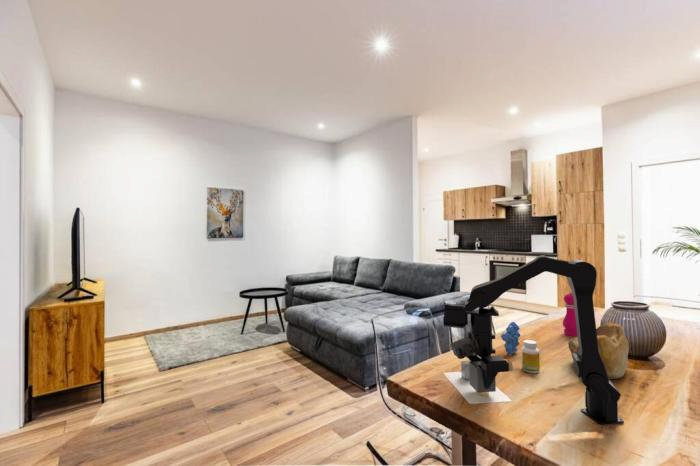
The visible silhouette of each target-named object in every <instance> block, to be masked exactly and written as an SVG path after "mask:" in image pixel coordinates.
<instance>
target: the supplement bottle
mask: <svg viewBox="0 0 700 466" xmlns="http://www.w3.org/2000/svg"><path fill="white" fill-rule="evenodd" d="M537 347H538V343H537V341H535V340H531V339H525V340H523V346H522V347H521V353H520V354H521V370H523V371H524V372H526V373H530V374H537V373H539V372H540V370H541V369H540V368H541V367H540V350H539V348H537Z"/></svg>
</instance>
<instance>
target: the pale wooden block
mask: <svg viewBox="0 0 700 466" xmlns="http://www.w3.org/2000/svg"><path fill="white" fill-rule="evenodd" d="M476 392H477V391H476ZM477 393H478V392H477ZM478 394H479V395H480V396H488V395H489V392H479V393H478Z"/></svg>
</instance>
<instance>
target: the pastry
mask: <svg viewBox="0 0 700 466" xmlns="http://www.w3.org/2000/svg"><path fill="white" fill-rule="evenodd" d="M503 359H504V360H506V361H507V362H508V363H509V371H515V370H514V365H513V359H510V358H509V359H506V358H503Z"/></svg>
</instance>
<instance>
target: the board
mask: <svg viewBox="0 0 700 466" xmlns="http://www.w3.org/2000/svg"><path fill="white" fill-rule="evenodd" d="M443 375H444V376H445V377H446V378H447V379H448V380H449V382H450V383H451V384H452V385H453V387H455V389H456V390H457V391H458V392H459V393H460V395H462V397H463V398H464V399H465V400H466V402H467V403H468V404H469V405H474V404H489V403H503V402H504V403H506V402H507V403H508V402H513V400H512V399H511V398H509V397H508V396H507V395H506V394H505V393H504V392H503V391H501V390H500V388H498V387H497V386H496V391H495V392H489V395H488V396H480V395H479V394H478V393H477V392H476V390H475V389H474V388H473V387H472V386H471V385H470V383H469V380H464V379H463V378H462V376H461V371H454V372H452V371H451V372H443Z"/></svg>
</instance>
